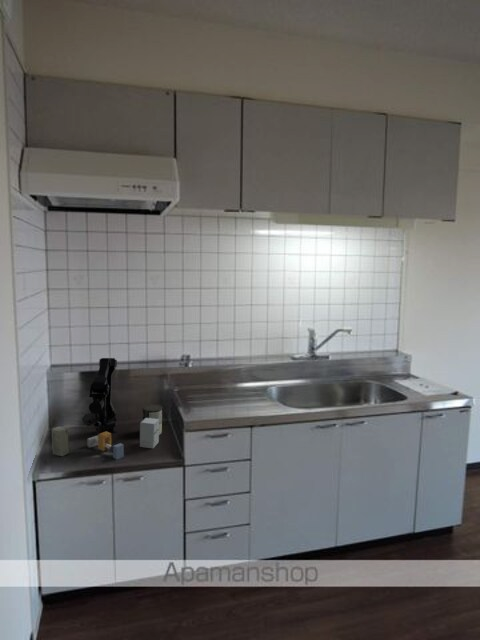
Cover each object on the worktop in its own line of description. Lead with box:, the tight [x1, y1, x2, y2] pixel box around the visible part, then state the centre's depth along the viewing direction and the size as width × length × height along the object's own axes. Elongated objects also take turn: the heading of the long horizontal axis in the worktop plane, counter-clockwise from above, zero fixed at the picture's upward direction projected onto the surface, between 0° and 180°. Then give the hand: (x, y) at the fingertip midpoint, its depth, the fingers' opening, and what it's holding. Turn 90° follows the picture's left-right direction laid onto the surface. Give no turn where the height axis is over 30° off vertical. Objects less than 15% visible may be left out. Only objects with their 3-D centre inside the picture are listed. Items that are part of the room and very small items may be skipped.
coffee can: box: [142, 403, 163, 436], centre depth 245 cm, size 10×10×14 cm
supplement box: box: [139, 418, 160, 449], centre depth 230 cm, size 7×7×13 cm
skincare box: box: [51, 426, 70, 457], centre depth 217 cm, size 6×4×12 cm
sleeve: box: [97, 431, 112, 452], centre depth 222 cm, size 4×5×7 cm
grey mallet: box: [86, 434, 125, 460], centre depth 222 cm, size 22×6×6 cm, turn 51°
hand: (99, 437), depth 224 cm, fingers closed
